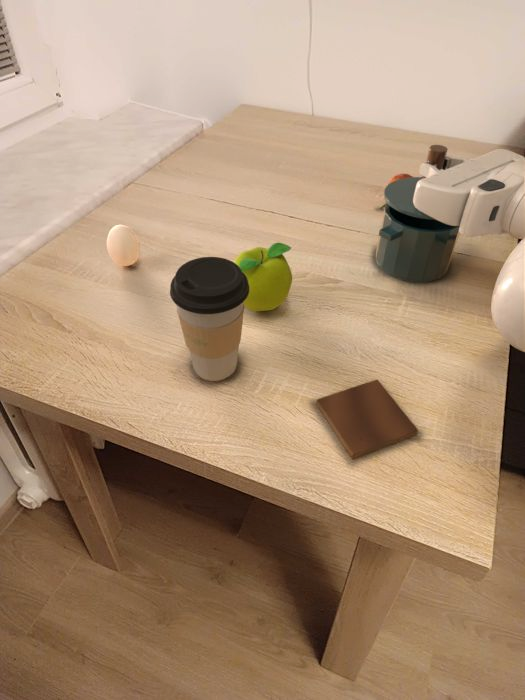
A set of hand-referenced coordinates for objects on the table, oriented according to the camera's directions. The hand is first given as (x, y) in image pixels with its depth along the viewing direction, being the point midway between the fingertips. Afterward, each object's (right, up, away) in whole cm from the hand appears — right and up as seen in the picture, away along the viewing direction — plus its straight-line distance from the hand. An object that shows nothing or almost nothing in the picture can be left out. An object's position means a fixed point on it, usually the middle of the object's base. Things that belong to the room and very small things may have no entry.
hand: (431, 163), depth 76 cm
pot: (0, -13, +11) cm, 17 cm away
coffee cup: (-32, -31, -7) cm, 45 cm away
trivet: (-13, -37, -14) cm, 42 cm away
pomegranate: (+2, 0, +25) cm, 25 cm away
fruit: (-26, -21, +2) cm, 34 cm away
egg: (-49, -14, +10) cm, 52 cm away
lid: (0, -4, +3) cm, 6 cm away
